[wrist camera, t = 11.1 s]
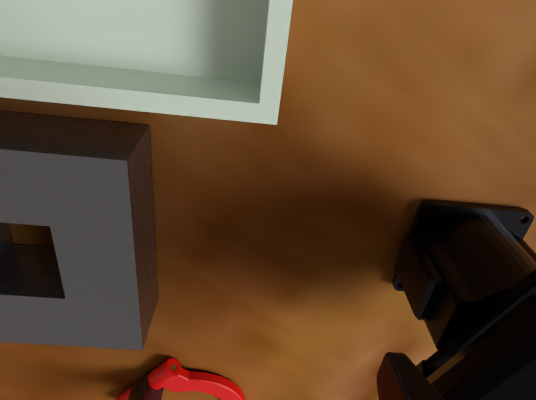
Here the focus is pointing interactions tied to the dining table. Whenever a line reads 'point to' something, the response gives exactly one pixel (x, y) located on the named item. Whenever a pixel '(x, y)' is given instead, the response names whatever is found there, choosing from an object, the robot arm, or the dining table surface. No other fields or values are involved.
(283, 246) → the dining table surface
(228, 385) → the tow hook
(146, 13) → the tray
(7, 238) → the hitch block
